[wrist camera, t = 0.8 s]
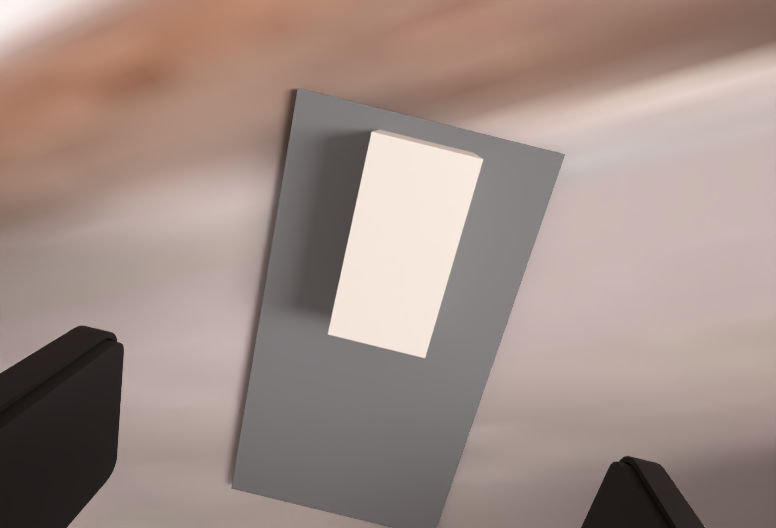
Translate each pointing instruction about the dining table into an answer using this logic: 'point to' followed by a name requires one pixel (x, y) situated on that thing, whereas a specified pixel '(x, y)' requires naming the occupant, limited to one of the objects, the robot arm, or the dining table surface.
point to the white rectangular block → (402, 241)
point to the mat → (367, 362)
